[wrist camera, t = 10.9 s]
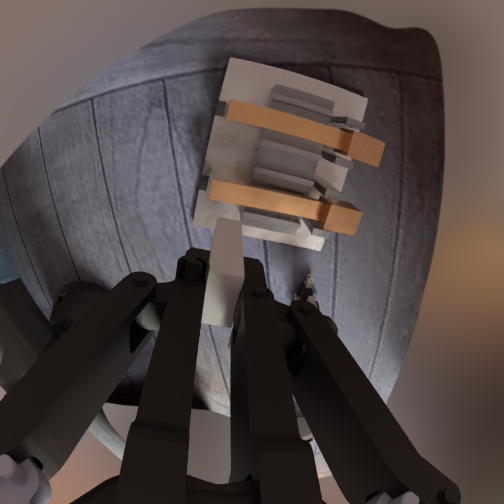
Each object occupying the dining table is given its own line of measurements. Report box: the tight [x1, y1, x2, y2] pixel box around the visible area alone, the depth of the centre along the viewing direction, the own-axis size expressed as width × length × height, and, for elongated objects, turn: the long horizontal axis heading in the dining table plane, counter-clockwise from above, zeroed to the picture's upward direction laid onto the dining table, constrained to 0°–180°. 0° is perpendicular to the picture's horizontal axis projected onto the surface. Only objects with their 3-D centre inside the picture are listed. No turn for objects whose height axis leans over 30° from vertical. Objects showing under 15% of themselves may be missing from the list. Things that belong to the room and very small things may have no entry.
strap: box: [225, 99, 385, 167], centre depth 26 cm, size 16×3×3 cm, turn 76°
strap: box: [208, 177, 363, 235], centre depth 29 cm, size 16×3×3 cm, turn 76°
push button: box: [294, 274, 338, 350], centre depth 37 cm, size 7×5×10 cm
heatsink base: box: [193, 57, 368, 251], centre depth 30 cm, size 17×21×7 cm
